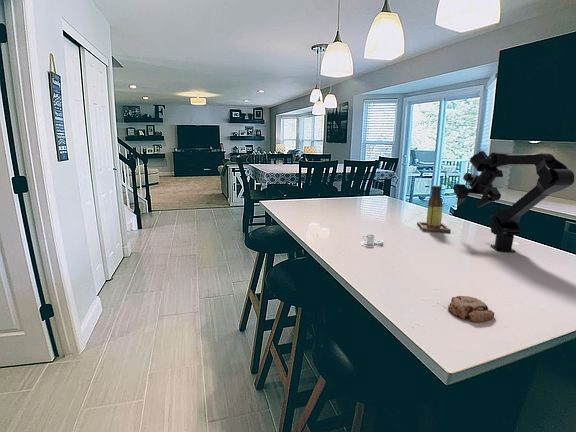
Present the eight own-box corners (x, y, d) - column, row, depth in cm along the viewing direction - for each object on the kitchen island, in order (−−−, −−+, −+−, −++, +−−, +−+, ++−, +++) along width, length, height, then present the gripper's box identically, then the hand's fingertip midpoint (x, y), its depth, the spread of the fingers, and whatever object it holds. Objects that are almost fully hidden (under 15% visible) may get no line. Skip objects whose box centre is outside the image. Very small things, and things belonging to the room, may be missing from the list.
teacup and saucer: (385, 244, 135) (386, 235, 134) (378, 250, 129) (379, 239, 128) (364, 240, 140) (364, 231, 139) (356, 245, 133) (357, 235, 132)
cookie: (480, 303, 87) (481, 292, 87) (501, 325, 77) (503, 313, 76) (440, 301, 88) (441, 290, 87) (456, 322, 78) (457, 310, 77)
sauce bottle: (442, 228, 159) (447, 186, 155) (437, 230, 155) (442, 187, 151) (428, 225, 164) (433, 184, 159) (423, 227, 160) (427, 185, 155)
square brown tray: (450, 232, 153) (450, 229, 153) (422, 231, 155) (422, 228, 154) (442, 226, 165) (443, 223, 164) (416, 224, 166) (417, 221, 166)
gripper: (498, 168, 145) (479, 195, 156) (457, 164, 143) (441, 192, 154) (510, 185, 137) (489, 212, 148) (467, 181, 136) (449, 209, 147)
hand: (467, 206), depth 150 cm, fingers open, 9 cm apart
